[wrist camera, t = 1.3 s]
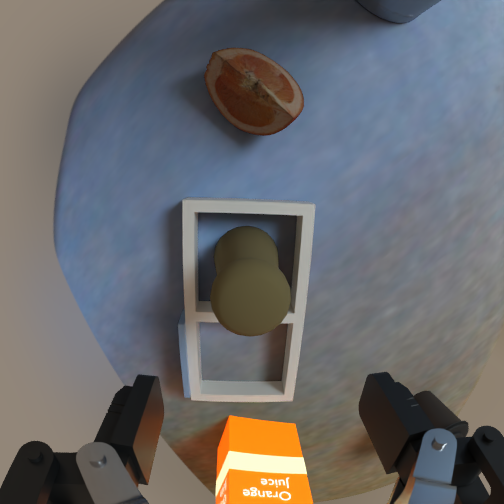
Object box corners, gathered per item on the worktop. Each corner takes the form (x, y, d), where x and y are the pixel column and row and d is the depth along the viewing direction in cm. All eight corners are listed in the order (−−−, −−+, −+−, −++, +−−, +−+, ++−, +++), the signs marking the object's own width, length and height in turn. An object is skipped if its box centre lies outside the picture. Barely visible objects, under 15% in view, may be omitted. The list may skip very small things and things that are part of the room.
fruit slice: (193, 93, 24) (184, 77, 20) (244, 45, 23) (246, 23, 19) (261, 152, 26) (266, 148, 21) (311, 103, 25) (326, 90, 20)
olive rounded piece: (288, 239, 28) (318, 279, 18) (264, 296, 30) (278, 360, 19) (226, 216, 28) (220, 245, 17) (205, 276, 29) (189, 334, 18)
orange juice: (229, 414, 34) (229, 560, 14) (296, 423, 35) (326, 556, 15) (217, 449, 36) (213, 573, 16) (277, 456, 37) (295, 574, 17)
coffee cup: (424, 421, 37) (451, 462, 27) (385, 425, 36) (410, 473, 27) (448, 382, 35) (482, 422, 25) (409, 384, 34) (443, 431, 25)
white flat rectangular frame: (180, 197, 27) (173, 200, 24) (308, 201, 28) (317, 205, 24) (188, 385, 32) (185, 403, 29) (289, 387, 33) (293, 405, 30)
